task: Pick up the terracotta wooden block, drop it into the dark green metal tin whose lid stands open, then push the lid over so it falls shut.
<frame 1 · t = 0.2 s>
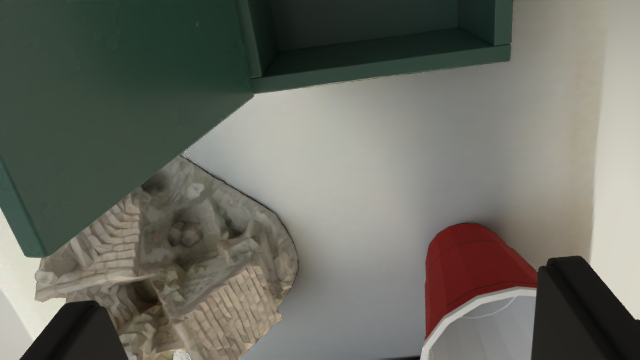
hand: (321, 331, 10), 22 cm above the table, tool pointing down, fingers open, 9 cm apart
ceramic cottage: (191, 233, 35), on the table
plastic cup: (462, 249, 35), on the table
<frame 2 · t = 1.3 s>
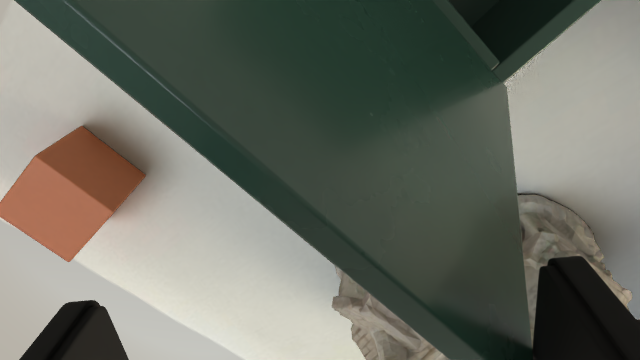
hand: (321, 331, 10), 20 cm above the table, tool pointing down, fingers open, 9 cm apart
ceramic cottage: (462, 262, 33), on the table
block: (94, 175, 30), on the table
lid: (380, 60, 12), point 14 cm above the table, hinge at 109.8°, touching gripper
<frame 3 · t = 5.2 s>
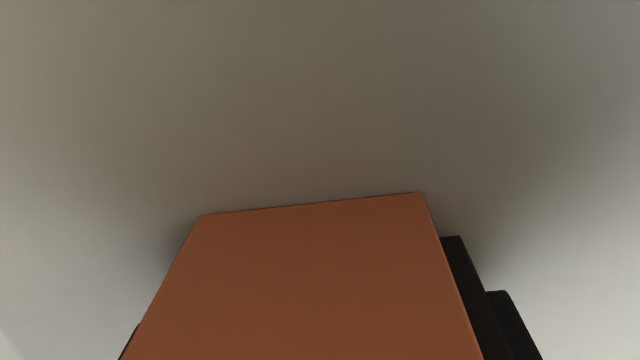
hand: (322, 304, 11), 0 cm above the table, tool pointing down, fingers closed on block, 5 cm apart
block: (323, 291, 11), on the table, touching gripper
when the fingers open (7 cm above the table, at t = 14.3 s): block drops 6 cm, resting on tin.
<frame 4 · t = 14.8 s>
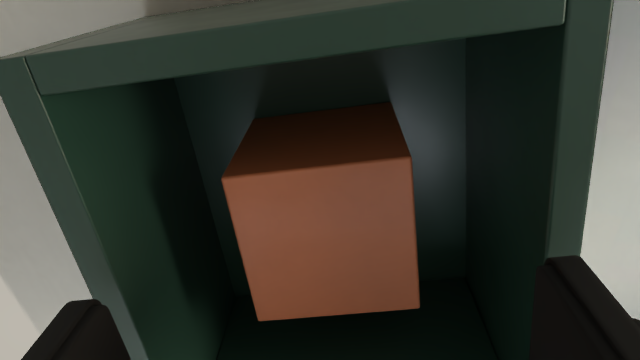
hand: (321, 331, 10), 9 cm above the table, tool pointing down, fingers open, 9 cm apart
tin: (331, 163, 18), on the table
block: (330, 172, 17), point 1 cm above the table, touching tin
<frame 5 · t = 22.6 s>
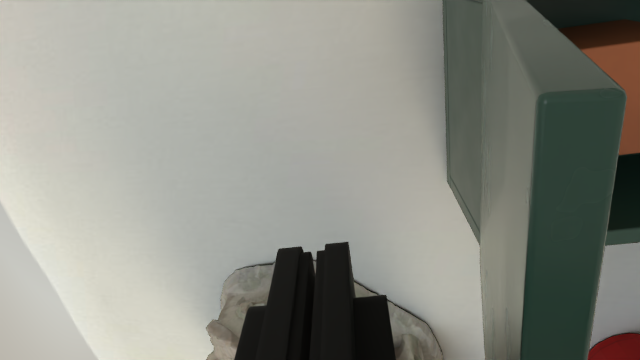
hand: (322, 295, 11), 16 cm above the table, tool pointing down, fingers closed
tin: (562, 73, 24), on the table
ceramic cottage: (332, 340, 33), on the table
block: (568, 75, 24), point 1 cm above the table, touching tin
lid: (503, 236, 12), point 15 cm above the table, hinge at 104.0°, touching gripper
plastic cup: (620, 356, 33), on the table
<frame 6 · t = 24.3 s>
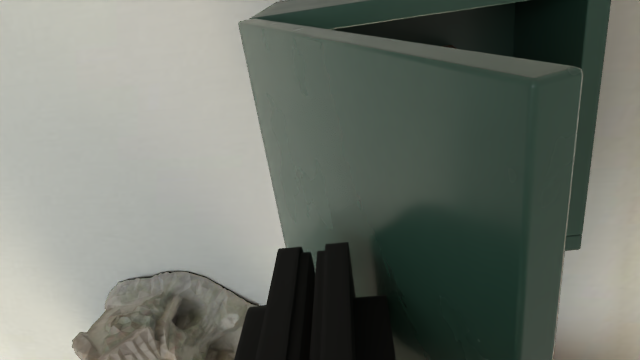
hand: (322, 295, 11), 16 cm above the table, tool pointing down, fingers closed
tin: (405, 95, 25), on the table
ceramic cottage: (222, 350, 34), on the table
lid: (346, 245, 13), point 14 cm above the table, hinge at 65.6°, touching gripper
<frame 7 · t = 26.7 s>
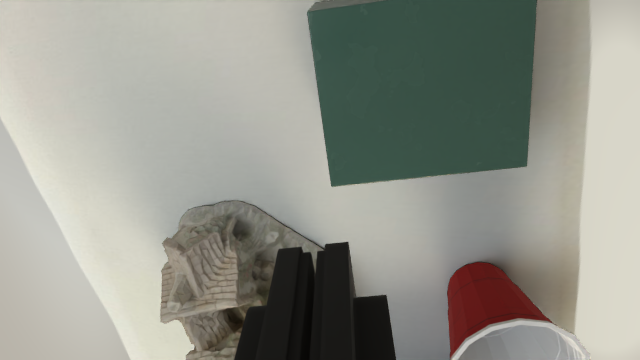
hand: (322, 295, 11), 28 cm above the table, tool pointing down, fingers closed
tin: (402, 68, 36), on the table
ceramic cottage: (262, 267, 45), on the table
lid: (423, 92, 29), point 8 cm above the table, hinge at -0.2°
plastic cup: (476, 282, 45), on the table
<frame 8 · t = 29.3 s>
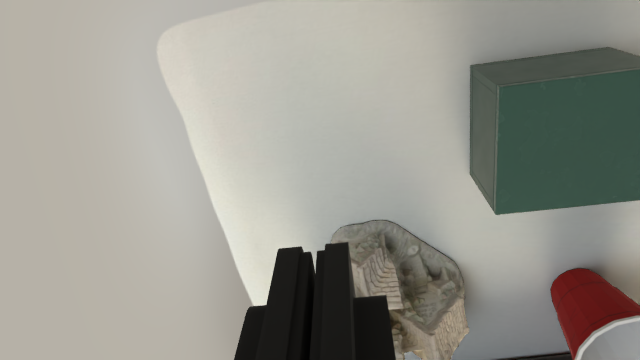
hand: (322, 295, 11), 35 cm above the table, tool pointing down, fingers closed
tin: (534, 115, 45), on the table
ceramic cottage: (395, 273, 54), on the table
lid: (577, 144, 37), point 8 cm above the table, hinge at -0.2°
plastic cup: (574, 284, 53), on the table
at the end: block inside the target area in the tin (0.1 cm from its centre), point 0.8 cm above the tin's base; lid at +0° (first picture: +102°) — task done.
